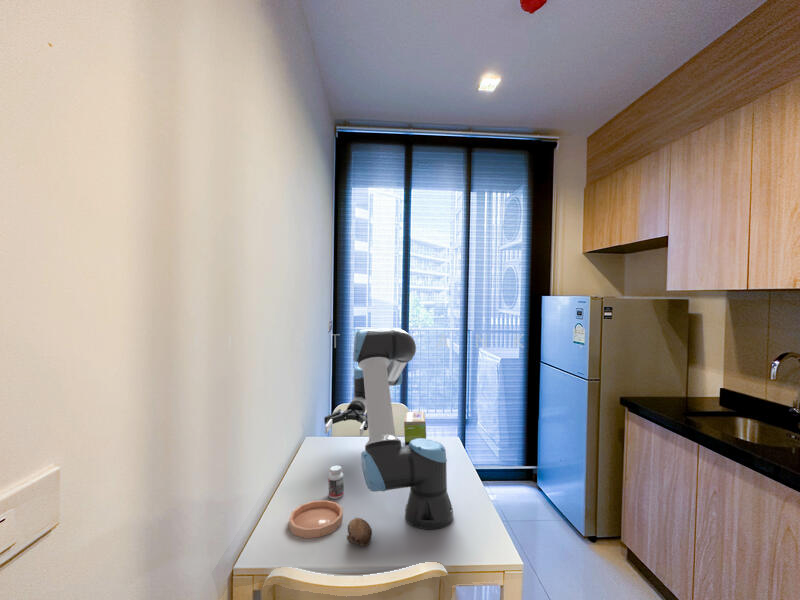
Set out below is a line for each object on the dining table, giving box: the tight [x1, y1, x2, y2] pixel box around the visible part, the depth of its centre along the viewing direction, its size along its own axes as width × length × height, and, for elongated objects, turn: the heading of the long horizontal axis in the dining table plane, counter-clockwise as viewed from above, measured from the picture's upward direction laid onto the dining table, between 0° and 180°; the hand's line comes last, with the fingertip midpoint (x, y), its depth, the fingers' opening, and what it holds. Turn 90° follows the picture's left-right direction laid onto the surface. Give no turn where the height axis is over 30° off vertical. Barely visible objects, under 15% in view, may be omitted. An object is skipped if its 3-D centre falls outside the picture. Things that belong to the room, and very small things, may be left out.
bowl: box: [288, 499, 344, 539], centre depth 115 cm, size 16×16×2 cm
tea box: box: [403, 411, 427, 447], centre depth 175 cm, size 15×10×15 cm, turn 178°
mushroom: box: [346, 517, 373, 547], centre depth 105 cm, size 8×8×6 cm
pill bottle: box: [327, 465, 345, 500], centre depth 131 cm, size 5×5×10 cm
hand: (343, 431), depth 140 cm, fingers open, 13 cm apart
